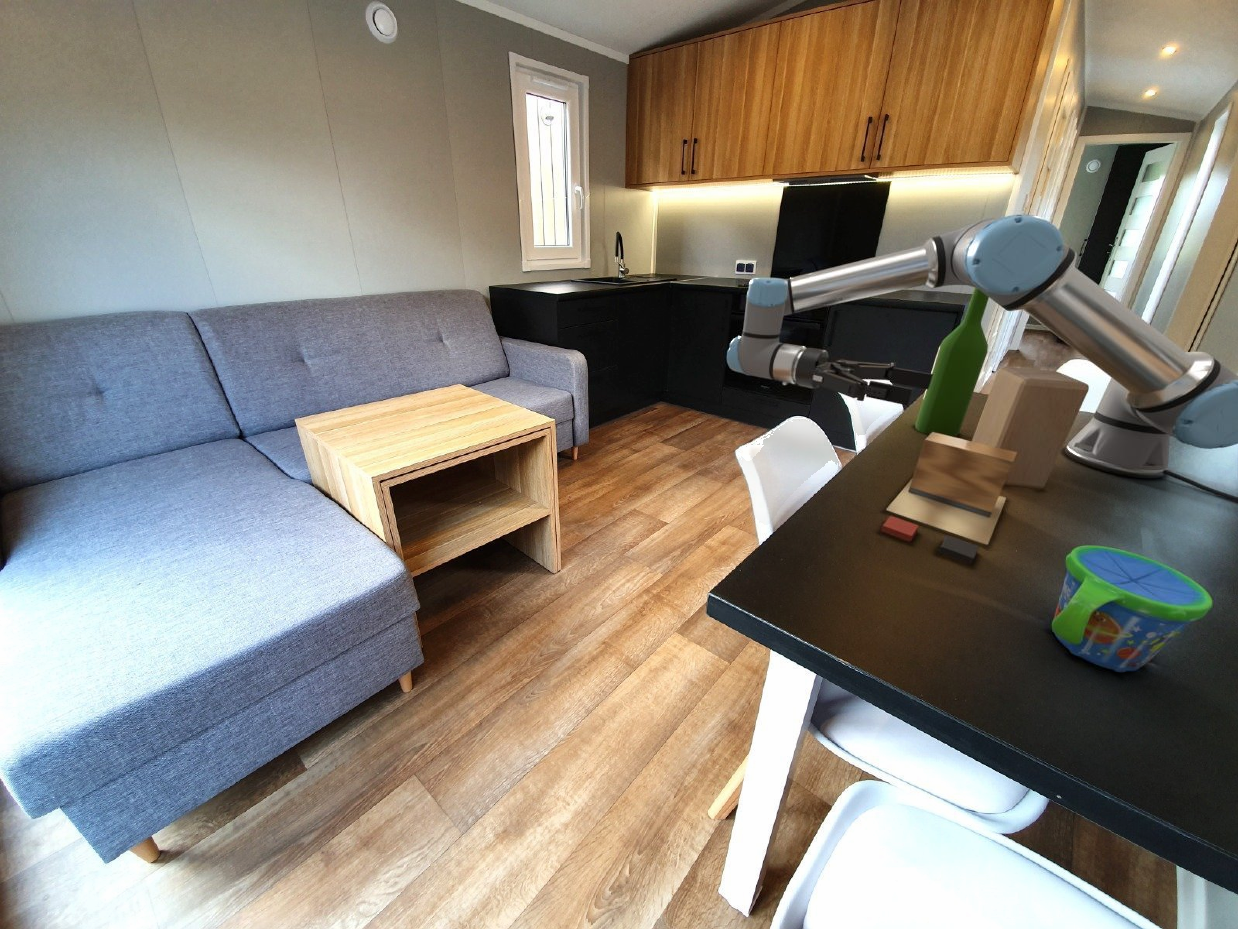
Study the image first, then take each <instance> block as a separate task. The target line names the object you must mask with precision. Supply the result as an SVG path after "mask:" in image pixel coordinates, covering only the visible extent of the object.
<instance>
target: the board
mask: <svg viewBox="0 0 1238 929" xmlns="http://www.w3.org/2000/svg"><path fill="white" fill-rule="evenodd" d="M911 481H912V478H911V479H910V480H909V482H908V483H907V484H906V485H905V486H904V488H903V489H902V490H901V491H900V493H899V494H897V496H896V497H895V498H894V499H893V501H892V502H891V503H890V504H889V505H888V507H887V508H886V511H887V512H890V513H893V514H896V515H900V516H902V517H905V518H908V519H910V520H913V521H917V522H920V523H923V524H925V525H929V526H931V527H934V528H937V529H940V530H942V531H946V532H948V533H952V534H955V535H958V536H961V537H963V538H966V539H969V540H972V541H975V542H978V543H981V544H984V545H989V543H990V541H991V538H992V536H993V533H994V530H995V528H996V525H997V523H998V520H999V518H1000V516H1001V513H1002V509H1003V507H1004V505H1005V503H1006V500H1007V497H1005V496H1001V495H999V497H998V499H997V502H996V504H995V507H994V509H993V511H992V514H991V516H990V518H989V517H986V516H983V515H979V514H976V513H973V512H970V511H967V510H963V509H960V508H957V507H954V506H951V505H948V504H944V503H941V502H938V501H935V500H932V499H929V498H925V497H922V496H919V495H916V494H913V493H910V492H908V491H909V488H910V485H911Z"/></svg>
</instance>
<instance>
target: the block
mask: <svg viewBox="0 0 1238 929" xmlns="http://www.w3.org/2000/svg"><path fill="white" fill-rule="evenodd" d="M1089 390H1090V386H1089V384H1088V383H1085V382H1083V381H1081V380H1078V379H1076V378H1075V377H1071V376H1070V375H1067V374H1064V373H1061V372H1059V371H1056V370H1050V369H1049V370H1048V369H1035V368H1022V367H1007V366H1005V367H1000V368H999V369H998V370H997V372H996V375H995V378H994V379H993V383H992V386H991V388H990V391H989V393H988V396H987V399H986V402H985V404H984V407H983V410H982V413H981V416H980V418H979V421H978V422H977V423H978V424H977V426H976V428H975V432H974V434H973V437H972V440H971V441H972V442H976V443H980V444H984V445H988V446H993V447H997V448H1001V449H1005V450H1009V451H1013V452H1017V454H1016V456H1015V459H1014V461H1013V464H1012V466H1011V468H1010V471H1009V473H1008V476H1007V478H1006V480H1005V483H1004V485H1003V486H1011V487H1019V488H1020V487H1021V488H1029V489H1037V490H1040V489H1044V487H1045V486H1046V484H1047V482H1048V480H1049V477H1050V475H1051V473H1052V471H1053V469H1054V467H1055V465H1056V462H1057V460H1058V458H1059V456H1060V453H1061V451H1062V449H1063V447H1064V445H1065V443H1066V440H1067V438H1068V436H1069V434H1070V431H1071V429H1072V427H1073V425H1074V423H1075V421H1076V418H1077V416H1078V414H1079V412H1080V410H1081V408H1082V405H1083V404H1084V402H1085V399H1086V397H1087V395H1088V393H1089Z"/></svg>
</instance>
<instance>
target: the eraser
mask: <svg viewBox="0 0 1238 929" xmlns="http://www.w3.org/2000/svg"><path fill="white" fill-rule="evenodd" d="M1016 454H1017V452H1013V451H1009V450H1005V449H1001V448H997V447H993V446H988V445H984V444H980V443H976V442H972V440H968V439H964V438H959V437H951V436H947V435H943V434H939V433H934V432H932V433H931V434H930V435H928V436H927V437H926V438H925V439H924V441H923V445H922V448H921V451H920V454H919V457H918V461H917V463H916V466H915V468H914V469H915V470H914V473H913V475H912V478H911V479H912V481H911V480H910V481H911V485H910V488H909V491H908V492H910V493H913V494H916V495H919V496H922V497H925V498H929V499H932V500H935V501H938V502H941V503H944V504H948V505H951V506H954V507H957V508H960V509H963V510H967V511H970V512H973V513H976V514H979V515H983V516H986V517H989V518H990V516H991V514H992V511H993V509H994V507H995V504H996V502H997V499H998V497H999V496H1001V492H1002V490H1003V487H1004V486H1005V485H1004V483H1005V480H1006V478H1007V476H1008V473H1009V471H1010V468H1011V466H1012V464H1013V461H1014V459H1015V456H1016Z"/></svg>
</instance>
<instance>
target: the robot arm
mask: <svg viewBox="0 0 1238 929" xmlns="http://www.w3.org/2000/svg"><path fill="white" fill-rule="evenodd" d="M1077 257H1078V254H1077V252H1076V251H1075V250H1073V249H1072V248H1071V247H1070V246H1069V245H1067V244H1066V243H1064V239H1063V236H1062V234H1061V232H1060V230H1059V228H1057V226H1055V224H1053V223H1052V222H1050V221H1049V220H1047V219H1045V218H1043V217H1040V216H1036V215H1032V214H1024V213H1023V214H1022V213H1021V214H1011V215H1007V216H1002V217H992V218H987V219H983V220H980V221H977V222H974V223H972V224H969V225H966V226H964V227H961V228H958V229H956V230H953V231H950V232H947V233H943V234H941V235H937V236H933V237H929V238H927V239H926V240H925V242H923V244H922V245H918V246H915V247H910V248H907V249H902V250H898V251H894V252H891V253H886V254H882V255H879V256H874V257H870V258H866V259H861V260H858V261H854V262H849V263H845V264H842V265H837V266H834V267H829V268H825V269H821V270H817V271H814V272H810V273H805V274H802V275H801V274H800V275H797V276H792V277H790V278H779V277H762V276H761V277H753V278H752V279H750V281H749V284H748V290H747V293H746V302H745V312H744V321H743V329H742V332H741V336H740V335H738V336H736V337H735V338H733V339H732V340H731V341H730V343H729V348H728V349H727V352H726V363H727V365H728V367H729V369H731V371H734V372H736V373H741V374H743V375H746V376H753V377H758V378H763V379H768V380H772V381H776V382H777V381H778V382H782V385H783V386H786V385H788V384H791V385H798V386H799V387H804V388H807V389H814V390H815V389H817V388H819V387H823V388H826V389H828V390H831V391H834V392H836V393H838V394H842V395H843V396H847V397H848V398H852V399H856V401H858V402H864V401H865V397H866V398H870V399H875V400H879V401H884V402H888V403H893V404H898V405H903V406H909V405H910V403H911V398H912V394H913V392H914V388H918V389H923V390H924V389H925V390H926V389H929V386H930V383H931V380H932V376H933V374H931V373H930V372H924V371H917V370H912V369H906V368H900V367H896V364H897V363H896V362H890V363H879V362H868V361H867V362H866V361H865V362H864V361H857V360H856V361H855V360H847V359H843V358H842V359H839V360H835V362H832V361H830V357H829V353H828V351H827V350H825V349H821V348H814V347H806V346H804V345H797V344H790V343H784V342H780V337H781V329H782V325H783V320H784V317H785V316H788V315H792V314H795V313H801V312H806V311H810V310H814V309H815V310H816V309H819V308H823V307H825V308H826V307H830V306H832V305H833V306H834V305H837V304H838V305H839V304H842V303H848V302H852V301H857V300H862V299H865V298H870V297H875V296H880V295H884V294H889V293H890V294H891V293H893V292H898V291H903V290H907V289H912V288H917V287H921V286H926V287H927V288H929V289H936V288H941V287H948V286H969V287H971V288H974V289H975V288H977V289H979V290H980V291H981V292H983V293H984V294H985V295H987V296H988V297H989V299H991V301H993V302H995V303H996V304H997V305H999V306H1000V307H1001V308H1002V309H1004V310H1005V311H1007V312H1014V311H1024V312H1025V313H1026V314H1028V315H1029V316H1031V317H1032V318H1033V319H1034V320H1036V321H1037V322H1038V323H1040V324H1041V325H1042V326H1044V327H1045V328H1046V329H1047V330H1049V331H1050V332H1051V333H1053V334H1054V336H1057V337H1058V338H1059V339H1060V340H1062V341H1063V342H1065V343H1066V345H1068V346H1070V347H1071V348H1072V349H1073V350H1075V351H1076V352H1077V353H1078V354H1080V355H1081V356H1082V357H1084V358H1085V359H1087V361H1089V362H1091V363H1092V364H1093V365H1094V366H1095V367H1097V368H1099V370H1101V371H1102V372H1104V373H1105V374H1106V375H1107V376H1109V377H1110V380H1109V382H1108V384H1107V386H1106V388H1105V390H1104V392H1103V395H1102V397H1101V399H1100V401H1099V403H1098V406H1097V407H1096V410H1095V412H1094V414H1093V416H1092V418H1091V420H1090V421H1089V422H1088V423H1086V425H1085V426H1084V427H1083V428H1082V429H1081V430H1080V431H1078V433H1077V434H1076V435H1075V436H1074V437H1072V439H1070V441H1068V443H1067V444H1066V447H1065V449H1064V453H1065V454H1066V456H1067V457H1069V458H1070V459H1071V460H1074V461H1076V462H1077V463H1079V464H1082V465H1084V466H1087V467H1090V468H1093V469H1096V470H1099V471H1102V472H1106V473H1111V474H1115V475H1118V476H1119V475H1120V476H1123V477H1129V478H1130V477H1131V478H1138V479H1158V478H1162V477H1163V476H1164V475H1167V476H1169V477H1172V478H1174V479H1177V480H1179V481H1181V482H1184V483H1186V484H1188V485H1191V486H1193V487H1195V488H1198V489H1200V490H1202V491H1204V492H1207V493H1210V494H1213V495H1215V496H1219V497H1222V498H1225V499H1228V500H1231V501H1234V502H1238V496H1236V495H1233V494H1229V493H1226V492H1223V491H1220V490H1218V489H1214V488H1212V487H1209V486H1207V485H1204V484H1202V483H1199V482H1197V481H1195V480H1193V479H1190V478H1188V477H1185V476H1183V475H1180V474H1178V473H1175V472H1174V471H1171V470H1168V468H1169V455H1170V442H1171V441H1170V440H1171V437H1172V438H1174V439H1176V440H1177V441H1178V442H1180V443H1182V444H1185V445H1187V446H1188V445H1189V446H1191V447H1195V448H1198V449H1204V450H1212V449H1224V448H1229V447H1232V446H1235V445H1238V374H1236V373H1235V372H1233V371H1232V370H1230V369H1229V368H1228V367H1227V366H1225V365H1224V364H1223V363H1221V362H1220V361H1219V360H1218V359H1216V358H1215V357H1213V356H1212V355H1211V354H1210V353H1208V352H1204V351H1188V352H1186V351H1185V350H1184V349H1182V348H1181V347H1180V346H1178V345H1177V344H1175V343H1174V342H1173V341H1172V340H1170V339H1169V338H1168V337H1167V336H1165V335H1164V334H1162V333H1161V332H1160V331H1159V330H1158V329H1156V328H1155V327H1153V326H1152V325H1151V324H1150V323H1148V322H1147V321H1146V320H1144V319H1143V318H1142V317H1141V316H1139V315H1138V314H1136V313H1135V311H1133V310H1131V309H1130V308H1129V307H1127V306H1126V305H1125V304H1124V303H1122V302H1121V301H1120V300H1118V298H1115V297H1114V296H1113V295H1112V294H1110V293H1109V292H1108V291H1107V290H1105V289H1104V288H1103V287H1102V286H1100V285H1099V284H1098V283H1096V282H1095V281H1094V280H1092V279H1091V278H1089V277H1088V276H1087V275H1085V274H1084V272H1082V271H1080V269H1078V268H1076V262H1077ZM867 380H870V381H869V382H868V381H867ZM876 380H877V381H876ZM881 381H888V382H889V383H886V382H881ZM901 385H902V386H901ZM913 387H914V388H913Z"/></svg>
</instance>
